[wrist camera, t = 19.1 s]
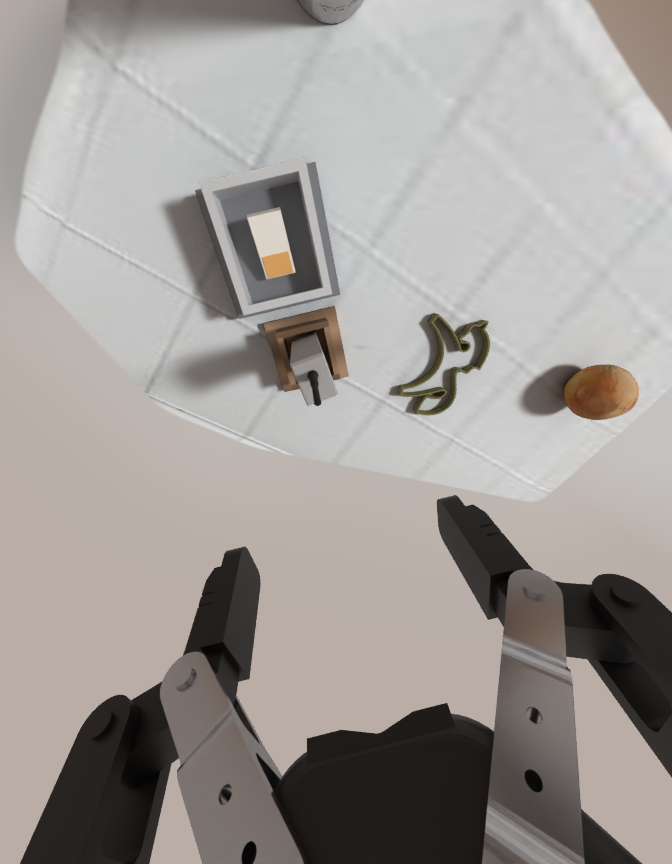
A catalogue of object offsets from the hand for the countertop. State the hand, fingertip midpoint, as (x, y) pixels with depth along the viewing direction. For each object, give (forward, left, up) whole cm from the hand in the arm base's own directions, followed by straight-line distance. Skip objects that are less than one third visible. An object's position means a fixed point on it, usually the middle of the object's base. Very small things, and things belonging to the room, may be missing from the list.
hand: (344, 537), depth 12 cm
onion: (+18, +48, -40) cm, 65 cm away
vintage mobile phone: (0, 0, -39) cm, 39 cm away
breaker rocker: (-14, -1, -36) cm, 39 cm away
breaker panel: (-14, -1, -40) cm, 42 cm away
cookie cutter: (+8, +22, -41) cm, 47 cm away
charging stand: (0, 0, -40) cm, 40 cm away
